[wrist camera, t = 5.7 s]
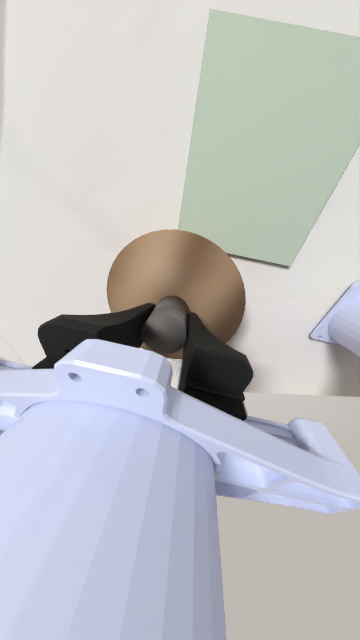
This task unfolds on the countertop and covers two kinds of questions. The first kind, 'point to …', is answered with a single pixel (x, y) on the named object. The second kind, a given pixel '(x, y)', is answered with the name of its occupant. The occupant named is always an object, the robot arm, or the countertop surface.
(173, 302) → the lid
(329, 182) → the mat
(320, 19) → the countertop surface
